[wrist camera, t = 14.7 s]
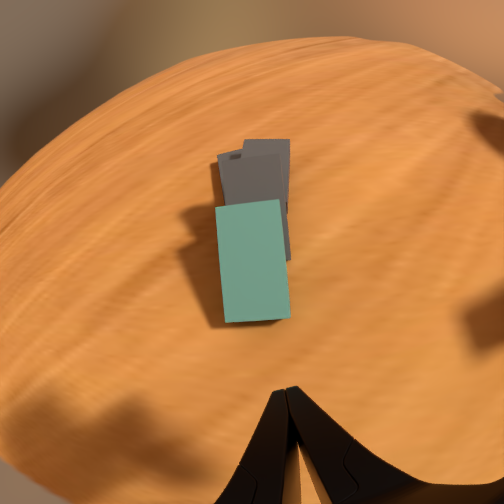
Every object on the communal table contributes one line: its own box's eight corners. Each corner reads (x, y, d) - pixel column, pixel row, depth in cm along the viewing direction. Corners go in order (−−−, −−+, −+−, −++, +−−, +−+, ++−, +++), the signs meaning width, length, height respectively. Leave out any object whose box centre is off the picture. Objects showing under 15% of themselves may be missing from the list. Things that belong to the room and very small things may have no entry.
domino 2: (290, 260, 23) (279, 153, 23) (231, 265, 24) (221, 161, 24) (291, 258, 25) (280, 158, 25) (235, 262, 26) (226, 165, 26)
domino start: (290, 318, 21) (278, 199, 21) (225, 322, 22) (215, 207, 22) (290, 314, 23) (280, 204, 23) (230, 318, 23) (220, 211, 24)
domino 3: (287, 201, 25) (289, 139, 29) (231, 200, 26) (244, 139, 30) (287, 213, 26) (290, 151, 31) (234, 212, 27) (246, 151, 32)
